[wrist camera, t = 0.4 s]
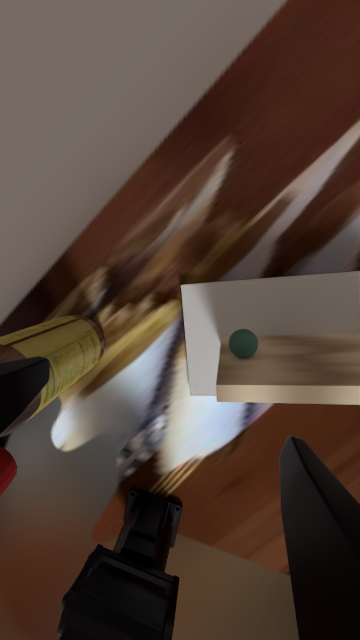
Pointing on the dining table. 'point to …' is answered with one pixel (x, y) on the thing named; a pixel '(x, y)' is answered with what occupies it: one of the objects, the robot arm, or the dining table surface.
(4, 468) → the plastic cup
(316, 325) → the board
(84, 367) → the sauce bottle
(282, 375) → the door
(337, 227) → the dining table surface
